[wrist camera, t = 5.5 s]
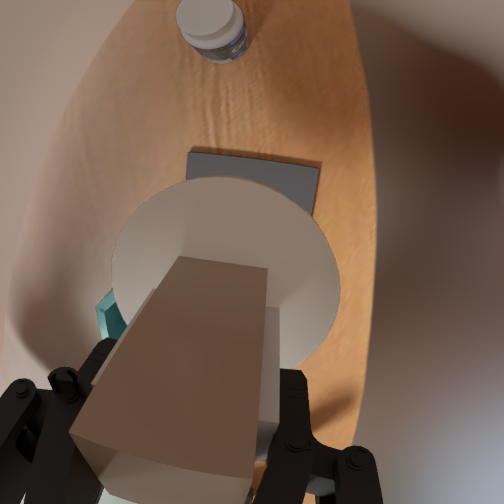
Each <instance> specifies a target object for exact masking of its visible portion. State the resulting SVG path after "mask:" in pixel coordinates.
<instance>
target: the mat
mask: <svg viewBox="0 0 504 504" xmlns="http://www.w3.org/2000/svg"><path fill="white" fill-rule="evenodd" d="M318 174H319V168H315V167H309V166H303V165H296V164H290V163H283V162H276V161H269V160H262V159H254V158H246V157H237V156H228V155H219V154H208V153H197V152H188V159H187V172H186V180H189V179H193V178H197V177H202V176H213V175H225V176H237V177H242V178H248V179H252V180H255V181H258V182H261V183H264V184H267V185H269V186H271V187H273V188H275V189H277V190H279V191H281V192H283V193H284V194H286V195H287V196H289V197H290V198H292V199H293V200H295V201H296V202H297V203H298V204H299V205H300V206H302V207H303V208H304V209H305V210H306V211H307V212H308V213H309V214H310V215H311V213H312V208H313V202H314V197H315V191H316V185H317V179H318Z"/></svg>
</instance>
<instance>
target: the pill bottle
mask: <svg viewBox="0 0 504 504" xmlns="http://www.w3.org/2000/svg"><path fill="white" fill-rule="evenodd" d="M176 20H177V23H178V25H179V27H180V29H181V33H182V35H183V37H184V39H185V40H186V41H187V42H188V43H189V44H190V45H191V46H192V47H193V48H195V49H196V50H197V51H198V52H199V53H200V54H201V55H202V56H203V57H204V58H206V59H207V60H209V61H211V62H214V63H220V64H224V63H230V62H233V61H235V60H237V59H238V58H240V57H241V56H242V55H243V54H244V53H245V52H246V50H247V48H248V45H249V33H248V30H247V27H246V24H245V21H244V16H243V14H242V11H241V9H240V8H239V6H238V5H237V4H236V3H235V2H233V1H232V0H182V1H181V3H180V4H179V6H178V8H177V11H176Z"/></svg>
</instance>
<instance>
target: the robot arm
mask: <svg viewBox="0 0 504 504" xmlns="http://www.w3.org/2000/svg"><path fill="white" fill-rule="evenodd" d="M155 290H156V289H155V288H153V289H152V290H151V292H150V293H149V295H148V296H147V298H146V299H145V301H144V302H143V304H142V305H141V307H140V308H139V309H138V311H137V312H136V314H135V315H134V317H133V318H132V320H131V321H130V323H129V324H128V326H127V327H126V329H125V331H124V332H123V334H122V335H121V337H120V338H119V340H116V339H113V338H109V337H106V338H105V339H103V340H102V341H100V342H99V343H98V344H97V345H96V346H95V348H94V349H93V351H92V353H91V354H90V355H89V356H88V359H86V361H85V362H84V364H83V365H82V367H81V368H80V370H79V371H78V372H77V371H76V370H75V369H73V368H70V367H60V368H57V369H55V370H53V371H52V372H51V373H50V374H49V376H48V377H47V378H48V380H49V382H50V385H51V387H52V389H53V390H45V389H37V388H36V386H35V384H34V382H32V381H31V380H29V379H26V378H23V379H18V380H15V381H14V382H13V383H11V384H10V385H9V387H8V388H7V389H6V391H5V392H4V393H3V394H2V396H1V397H0V504H20V503H21V500H22V499H23V497H24V494H25V492H26V494H25V499H24V504H98V503H99V500H100V497H101V495H102V492H103V489H104V486H103V485H102V483H101V482H100V480H99V479H98V478H97V476H96V475H95V473H94V472H93V470H92V469H91V467H90V466H89V464H88V463H87V461H86V460H85V458H84V457H83V455H82V454H81V452H80V450H79V449H78V447H77V446H76V444H75V442H74V441H73V439H72V437H71V435H70V434H69V430H70V428H71V426H72V425H73V423H74V421H75V419H76V417H77V416H78V414H79V412H80V410H81V409H82V407H83V405H84V403H85V402H86V400H87V398H88V397H89V395H90V393H91V391H92V390H93V388H94V386H95V385H96V383H97V381H98V380H99V378H100V376H101V375H102V373H103V371H104V370H105V368H106V366H107V365H108V363H109V361H110V360H111V358H112V357H113V355H114V353H115V352H116V350H117V348H118V347H119V345H120V344H121V342H122V341H123V339H124V337H125V336H126V334H127V333H128V331H129V329H130V328H131V326H132V325H133V323H134V322H135V320H136V319H137V317H138V316H139V314H140V313H141V311H142V309H143V308H144V306H145V305H146V303H147V302H148V300H149V299H150V297H151V296H152V294H153V293H154V291H155ZM266 458H267V466H266V469H265V471H264V474H263V476H262V479H261V482H260V485H259V487H258V490H257V492H256V495H255V498H254V500H253V503H252V504H302V503H303V500H304V496H305V492H307V493H310V494H314V495H315V502H316V504H383V499H382V493H381V488H380V483H379V477H378V472H377V467H376V462H375V459H374V456H373V454H372V453H371V452H370V451H369V450H368V449H366V448H364V447H361V446H350V447H347V448H345V449H343V450H338V449H335V448H331V447H328V446H325V445H323V444H321V443H320V442H318V441H317V440H316V439H315V437H314V436H313V434H312V431H311V424H310V411H309V400H308V386H307V379H306V377H305V376H304V374H303V372H302V371H301V370H293V369H283V368H280V310H279V308H278V307H271V306H266V308H265V324H264V340H263V355H262V370H261V385H260V398H259V412H258V425H257V438H256V451H255V460H260V461H266Z"/></svg>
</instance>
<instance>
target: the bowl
mask: <svg viewBox="0 0 504 504" xmlns="http://www.w3.org/2000/svg"><path fill="white" fill-rule="evenodd" d="M96 311H97V317H98V322H99V327H100V332H101V337H102V339H105V338H106V337H109V338H113V339H116V340H119V338H120V337H121V335H122V334H123V332H124V331H125V329H126V327H127V324H126V322H125V321H124V319H123V317H122V315H121V313H120V311H119V308H118V306H117V303H116V300H115V297H114V293H113V288H112V289H111V290H110V291H109V292H108V293H107V294H106V295H105V297H104V298H103V299H102V300H101V301H100V302H99V303H98V305H97V306H96Z"/></svg>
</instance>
